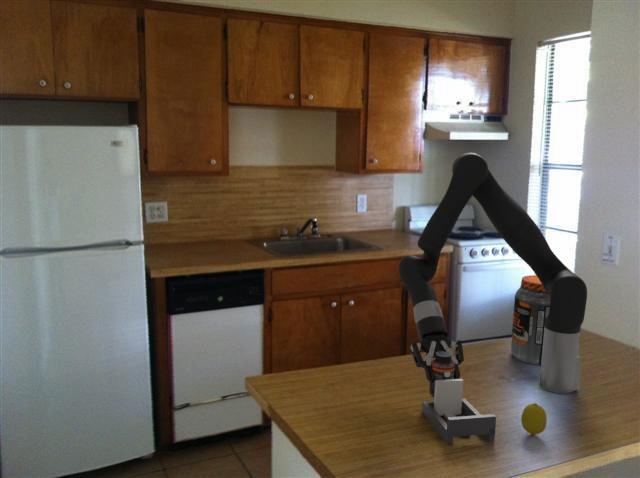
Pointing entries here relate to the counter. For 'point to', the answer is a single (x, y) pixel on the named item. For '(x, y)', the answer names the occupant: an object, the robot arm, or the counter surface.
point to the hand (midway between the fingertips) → (444, 380)
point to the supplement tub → (529, 320)
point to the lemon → (534, 419)
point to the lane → (461, 422)
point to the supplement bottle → (441, 369)
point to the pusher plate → (448, 397)
